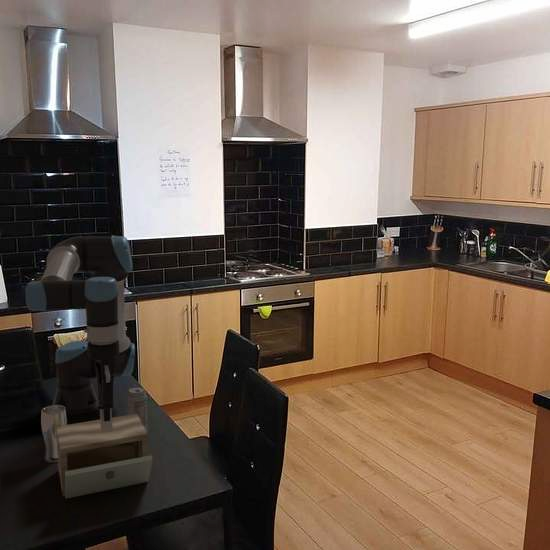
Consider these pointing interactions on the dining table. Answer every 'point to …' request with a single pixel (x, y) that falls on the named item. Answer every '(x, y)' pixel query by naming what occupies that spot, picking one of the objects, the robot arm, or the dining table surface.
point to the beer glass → (52, 429)
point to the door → (107, 476)
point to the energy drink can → (137, 404)
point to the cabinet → (99, 444)
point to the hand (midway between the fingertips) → (106, 431)
